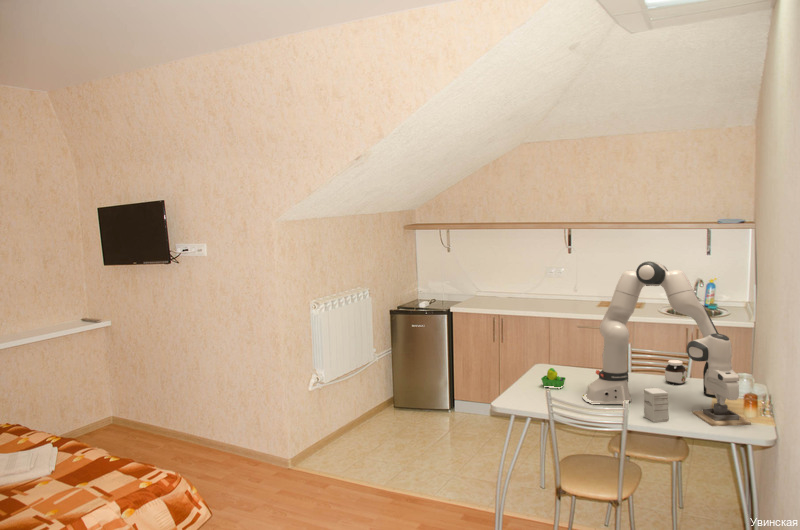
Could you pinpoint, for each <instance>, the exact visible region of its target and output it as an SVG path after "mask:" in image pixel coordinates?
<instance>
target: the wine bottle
mask: <svg viewBox="0 0 800 530" xmlns="http://www.w3.org/2000/svg"><path fill="white" fill-rule="evenodd" d="M707 369H708V362H707V361H705V363H704V367H703V371H702V373H703V375H702V376H703V377H702V378H703V394H704V395H705V396H706V397H708V398H709V397H710V398H716V396H715V392H713V391H711V390H709V389H707V388H706V387H705V385H704V379H705V373H706V372H707Z"/></svg>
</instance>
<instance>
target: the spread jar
mask: <svg viewBox="0 0 800 530" xmlns="http://www.w3.org/2000/svg"><path fill="white" fill-rule="evenodd" d="M664 379H665V382H666V383H668V384H669V383H670V385H672V384H674V385H673V386H681V385H684V384H685V382H686V381H687V370H686V367H685V366H684V365H683V361H682V360H678V359H670V360H668V361H667V365H666V367H665V369H664Z"/></svg>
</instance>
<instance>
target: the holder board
mask: <svg viewBox="0 0 800 530" xmlns="http://www.w3.org/2000/svg"><path fill="white" fill-rule="evenodd" d="M692 415H694V416H695V417H697V418H699V420H702V422H705V423H706V424H708V425H709V426H712V427H723V426H725V427H726V426H746V425H748V426H749V425H750V426H751V425H752V422H751V421H749V420H748V419H746V418H744V417H742V416H740V414H738V413H736V412H734V411H733V410H730V409H729V408H728V415H719V416H716V415H714V407H712V408H702V410H693V411H692Z"/></svg>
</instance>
